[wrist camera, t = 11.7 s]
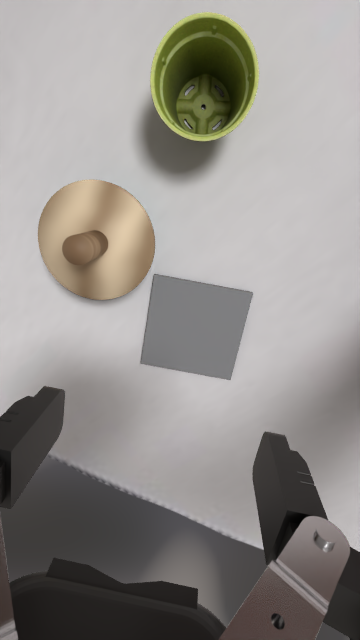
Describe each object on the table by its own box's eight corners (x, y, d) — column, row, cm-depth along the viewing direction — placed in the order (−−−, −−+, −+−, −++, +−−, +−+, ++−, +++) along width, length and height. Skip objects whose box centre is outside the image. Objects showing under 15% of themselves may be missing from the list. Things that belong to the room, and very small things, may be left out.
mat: (252, 292, 43) (252, 293, 43) (230, 378, 48) (230, 380, 47) (154, 273, 43) (154, 274, 43) (141, 361, 48) (140, 363, 47)
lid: (163, 192, 35) (155, 189, 29) (146, 307, 39) (136, 326, 33) (43, 169, 35) (8, 161, 29) (39, 287, 39) (8, 303, 33)
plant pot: (143, 108, 37) (127, 81, 29) (204, 33, 34) (206, -19, 26) (201, 172, 39) (201, 164, 31) (263, 106, 36) (281, 78, 28)
